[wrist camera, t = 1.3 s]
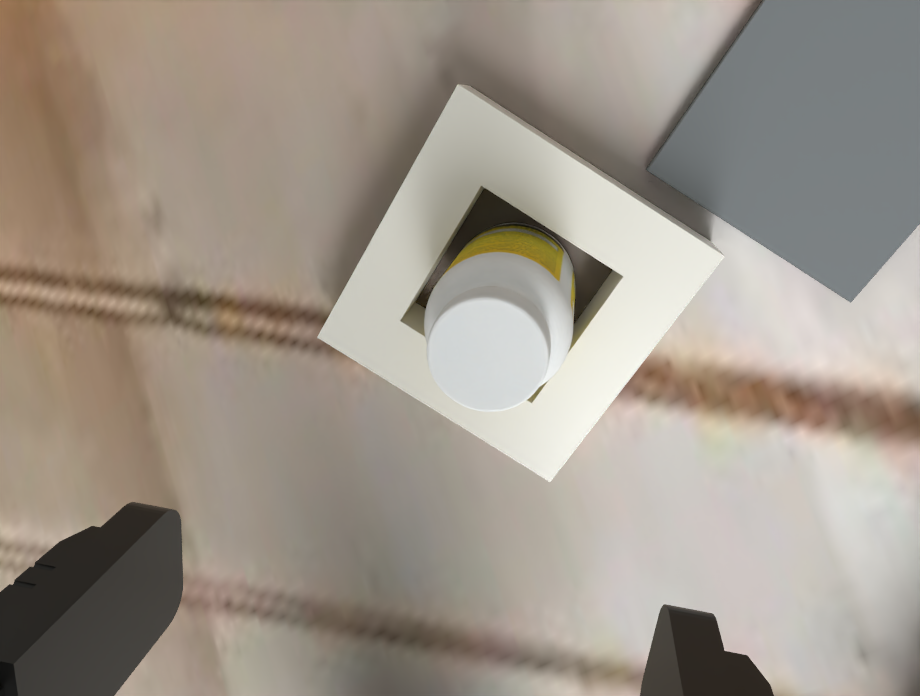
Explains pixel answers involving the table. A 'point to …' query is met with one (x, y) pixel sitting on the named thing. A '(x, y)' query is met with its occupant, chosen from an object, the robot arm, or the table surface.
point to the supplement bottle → (501, 317)
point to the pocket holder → (559, 209)
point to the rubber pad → (811, 136)
